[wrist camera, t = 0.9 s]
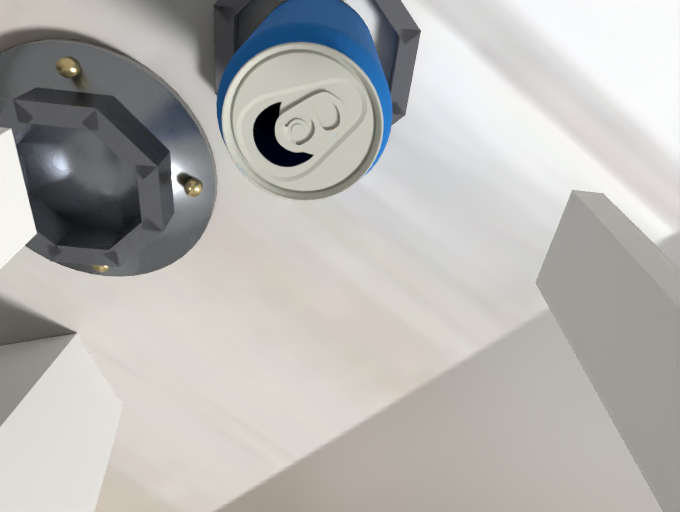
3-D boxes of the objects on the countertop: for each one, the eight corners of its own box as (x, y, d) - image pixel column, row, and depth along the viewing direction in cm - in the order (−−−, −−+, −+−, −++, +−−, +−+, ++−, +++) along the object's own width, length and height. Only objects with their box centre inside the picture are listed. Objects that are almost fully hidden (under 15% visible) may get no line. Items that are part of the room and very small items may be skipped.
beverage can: (233, 33, 27) (169, 92, 17) (338, -34, 25) (338, -15, 15) (296, 136, 30) (275, 238, 20) (394, 82, 28) (425, 163, 18)
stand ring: (220, 140, 30) (215, 147, 29) (217, -68, 24) (212, -69, 23) (394, 159, 31) (395, 166, 30) (430, -40, 25) (433, -39, 24)
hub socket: (-1, 259, 34) (-30, 286, 32) (-72, 22, 26) (-119, 32, 24) (219, 279, 35) (209, 307, 33) (214, 56, 27) (201, 69, 25)
